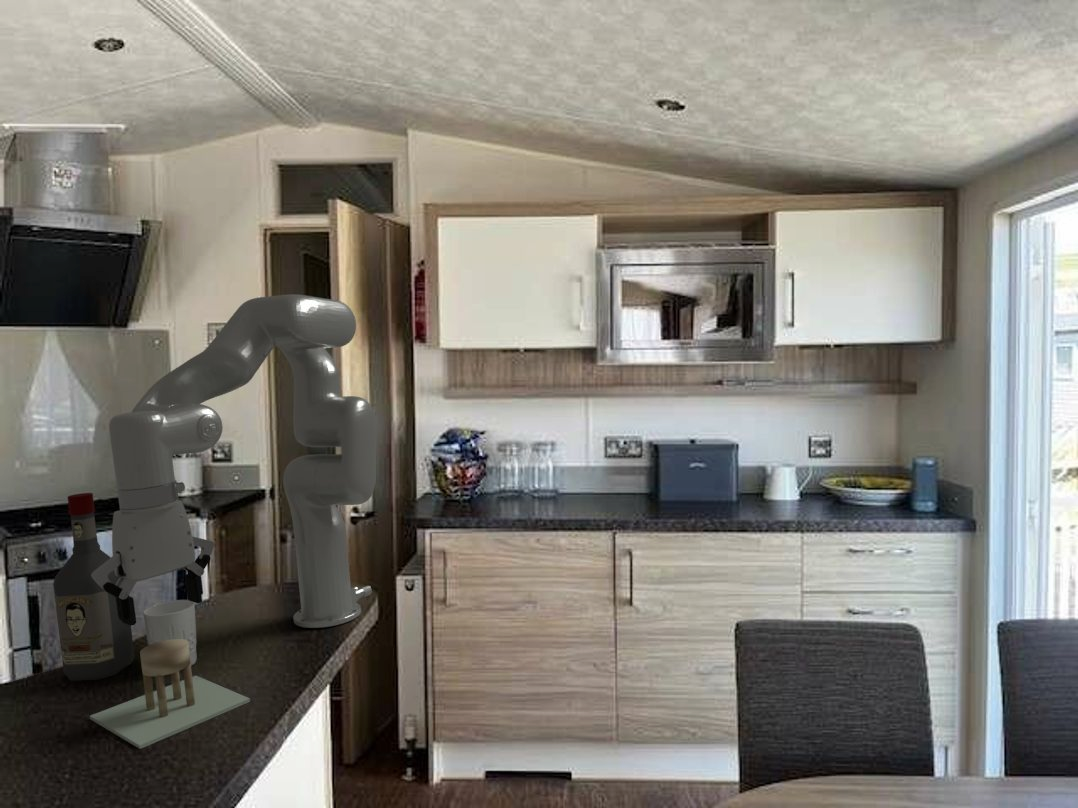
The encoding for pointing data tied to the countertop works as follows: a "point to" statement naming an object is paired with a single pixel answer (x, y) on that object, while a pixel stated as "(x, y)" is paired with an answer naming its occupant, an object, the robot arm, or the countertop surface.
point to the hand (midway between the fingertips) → (163, 612)
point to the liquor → (88, 605)
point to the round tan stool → (166, 672)
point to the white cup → (172, 623)
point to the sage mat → (151, 728)
